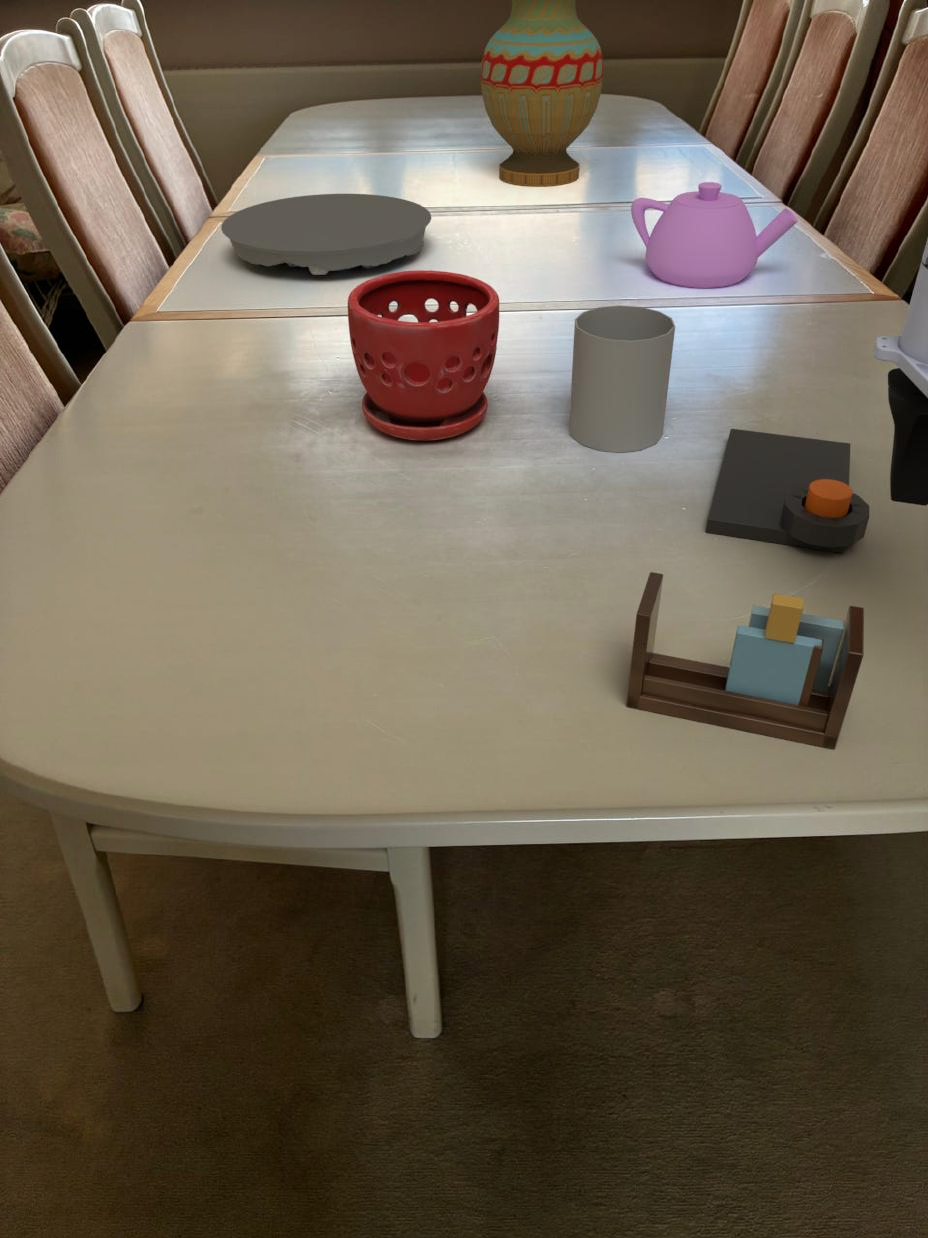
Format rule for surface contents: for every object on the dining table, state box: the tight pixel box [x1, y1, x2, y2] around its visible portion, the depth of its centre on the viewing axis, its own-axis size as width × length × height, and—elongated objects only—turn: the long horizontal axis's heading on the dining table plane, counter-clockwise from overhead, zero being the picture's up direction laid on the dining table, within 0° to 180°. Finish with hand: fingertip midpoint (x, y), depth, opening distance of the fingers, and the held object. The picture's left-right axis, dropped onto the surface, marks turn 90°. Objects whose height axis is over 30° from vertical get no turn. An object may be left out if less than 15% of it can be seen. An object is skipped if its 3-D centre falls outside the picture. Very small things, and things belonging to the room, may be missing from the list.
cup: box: [568, 304, 676, 454], centre depth 84 cm, size 8×8×10 cm
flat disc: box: [220, 193, 432, 276], centre depth 130 cm, size 28×28×4 cm
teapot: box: [630, 181, 798, 289], centre depth 118 cm, size 14×20×11 cm
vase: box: [480, 0, 604, 187], centre depth 155 cm, size 20×20×30 cm
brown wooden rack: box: [625, 571, 865, 750], centre depth 56 cm, size 12×4×7 cm, turn 71°
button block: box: [705, 428, 870, 554], centre depth 76 cm, size 18×11×3 cm, turn 161°
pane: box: [725, 593, 824, 707], centre depth 54 cm, size 5×1×7 cm, turn 71°
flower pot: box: [347, 269, 500, 441], centre depth 86 cm, size 13×13×12 cm
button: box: [805, 479, 854, 518], centre depth 70 cm, size 3×3×2 cm
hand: (908, 497), depth 57 cm, fingers closed
